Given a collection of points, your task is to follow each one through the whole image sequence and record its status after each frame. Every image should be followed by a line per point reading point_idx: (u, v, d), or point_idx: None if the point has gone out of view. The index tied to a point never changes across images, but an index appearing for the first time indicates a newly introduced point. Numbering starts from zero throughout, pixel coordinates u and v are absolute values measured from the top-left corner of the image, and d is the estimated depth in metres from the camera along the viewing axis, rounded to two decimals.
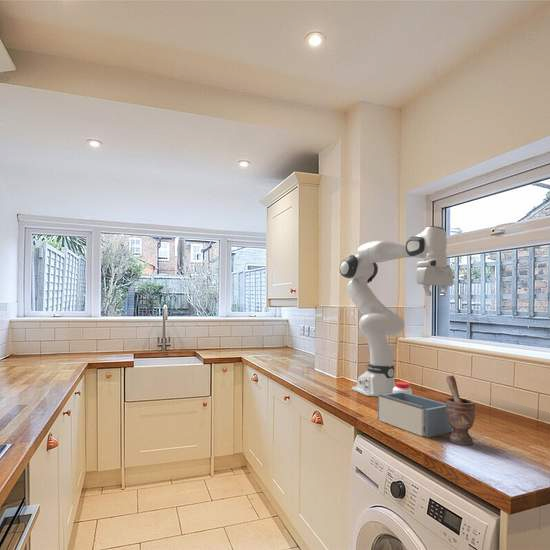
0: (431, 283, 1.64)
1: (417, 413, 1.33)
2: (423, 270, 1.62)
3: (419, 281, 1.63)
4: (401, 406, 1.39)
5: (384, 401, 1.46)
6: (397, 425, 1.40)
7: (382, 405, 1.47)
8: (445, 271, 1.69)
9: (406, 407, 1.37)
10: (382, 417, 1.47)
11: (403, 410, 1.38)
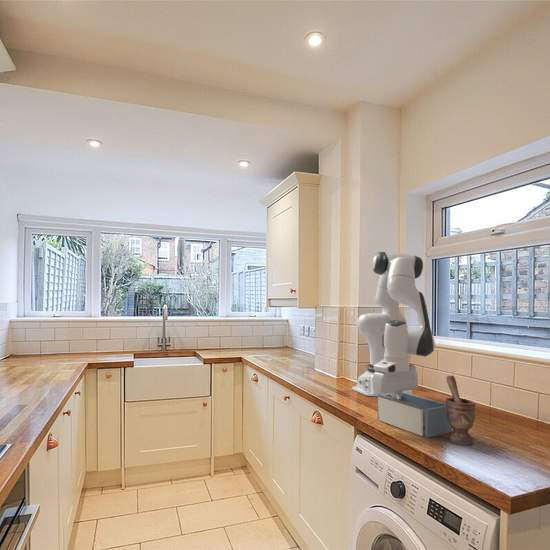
0: (390, 391, 1.40)
1: (416, 413, 1.33)
2: (380, 377, 1.38)
3: (376, 390, 1.39)
4: (400, 406, 1.39)
5: (383, 401, 1.46)
6: (397, 425, 1.40)
7: (381, 405, 1.47)
8: (408, 373, 1.45)
9: (405, 407, 1.37)
10: (382, 417, 1.46)
11: (402, 410, 1.38)
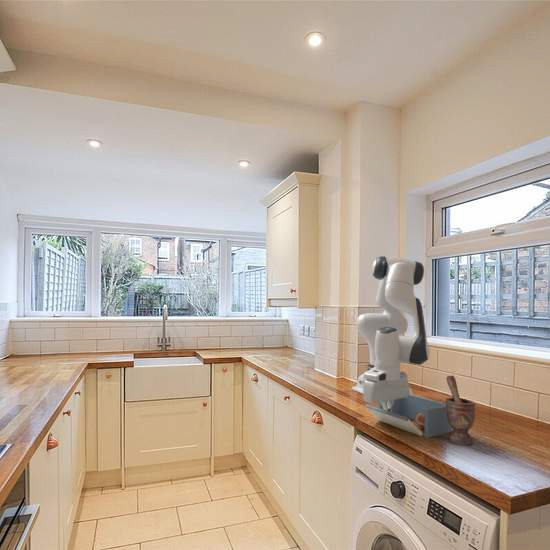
0: (380, 400, 1.37)
1: (406, 423, 1.30)
2: (370, 385, 1.35)
3: (366, 398, 1.36)
4: (389, 416, 1.36)
5: (372, 410, 1.43)
6: (396, 426, 1.40)
7: (373, 412, 1.44)
8: (399, 382, 1.42)
9: (394, 417, 1.34)
10: (379, 419, 1.46)
11: (393, 419, 1.36)
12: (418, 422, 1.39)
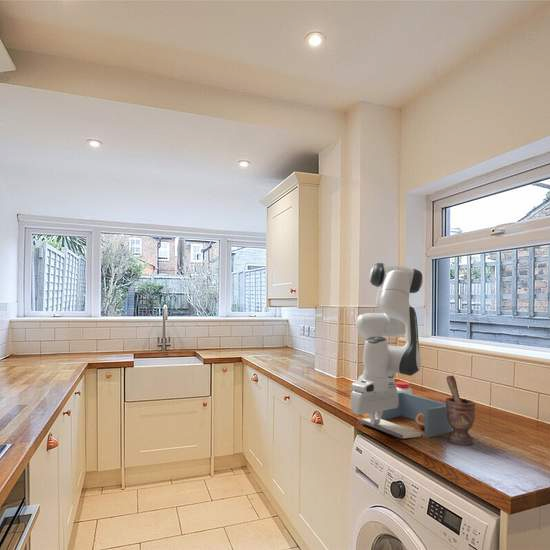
0: (368, 411, 1.34)
1: None
2: (358, 396, 1.32)
3: (353, 410, 1.33)
4: None
5: None
6: None
7: None
8: (387, 392, 1.39)
9: None
10: None
11: None
12: (418, 422, 1.39)
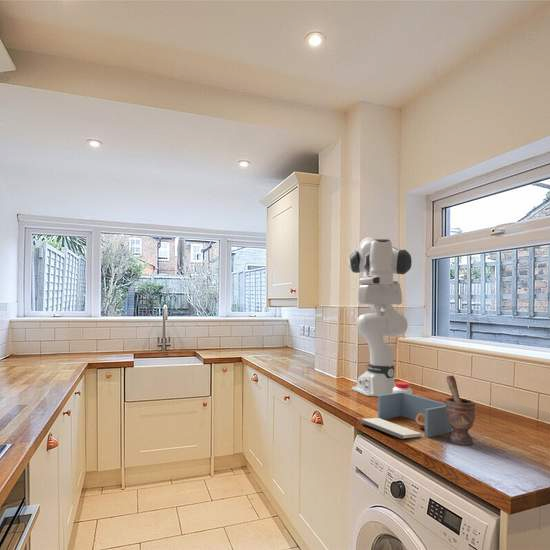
0: (374, 302, 1.47)
1: None
2: (365, 288, 1.46)
3: (361, 300, 1.47)
4: None
5: None
6: None
7: None
8: (392, 288, 1.52)
9: None
10: None
11: None
12: (418, 422, 1.39)
